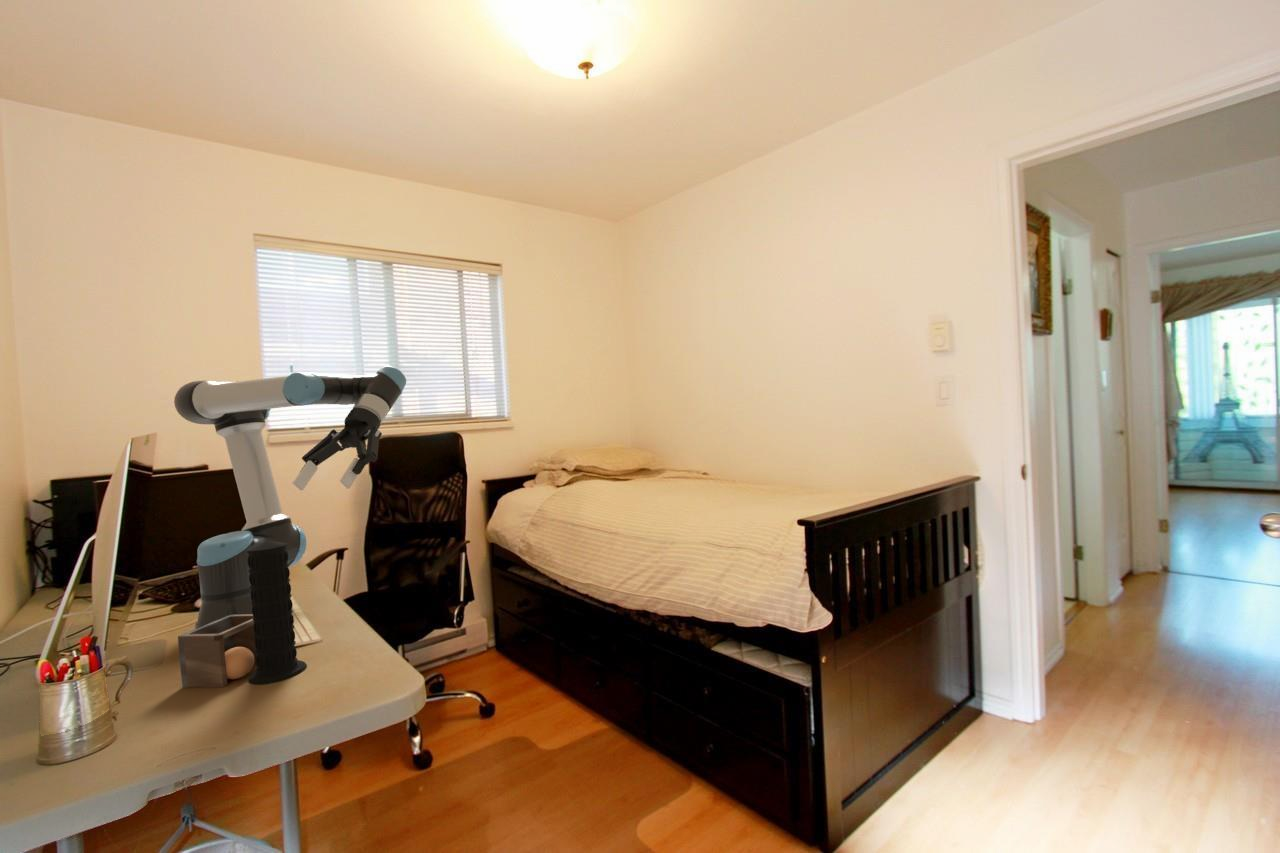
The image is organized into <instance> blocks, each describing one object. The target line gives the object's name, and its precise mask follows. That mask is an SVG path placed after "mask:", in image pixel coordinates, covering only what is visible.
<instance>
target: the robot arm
mask: <svg viewBox="0 0 1280 853" xmlns="http://www.w3.org/2000/svg"><path fill="white" fill-rule="evenodd" d="M406 385H407V379H406V376H405V374H404V373H403V372H402V371H401V370H400V369H398V368H397V367H395V366H391V365H385V366H382V367H380V368H379V369H378V370H377V371H376V373H375V374H366V375H351V374H349V375H347V374H333V373H332V374H331V373H317V372H311V371H299V372H293V373H291V374H289V375H284V376H275V377H267V378H259V379H258V378H257V379H251V380H250V379H249V380H248V379H247V380H242V381H241V380H240V381H238V380H237V381H220V380H219V381H217V380H215V381H214V380H194V381H191V382H188V383H185V384H184V385H182V386H180V388H179V389H178V390H177V392H176V393H175V396H174V398H173V399H174V401H173V402H174V408H175V411H176V412H177V413H178V414H179V416H180V417H182V418H183V419H184V420H186V421H188V422H190V423H193V424H197V425H214V429H215V433H216V435H218V436H219V437H220V436H221V437H222V438H224V440H225V443H226V448H227V451H228V455H229V459H230V464H231V468H232V470H233V476H234V478H235V482H236V485H237V486H236V487H237V490H238V494H239V498H240V501H241V506H242V509H243V513H244V517H245V520H246V523H245V524H244V526H243V527H242V528H241V530H237V531H231V532H227V533H223V534H218V535H216V536H212V537H209V538H208V539H206V540H204V541H202V542H201V543H200V544H199V545H198V547H197V553H196V554H197V556H196V557H197V558H196V564H197V569H198V580H199V588H200V602H201V603H200V607H199V610H198V616H197V620H196V621H197V622H196V623H195V624H194V630H195V629H197V628H199V627H202V626H204V625H207V624H209V623H211V622H214V621H216V620H219V619H221V618H224V617H226V616H228V615H241V614H252V607H253V605H252V604H251V603H252V599H251V589H250V586H251V584H250V581H249V575H250V573H249V572H248V570H249V569H250V568H249V566H248V557H249V555H248V553H247V551H246V550H247V549H249V548H251V547H254V546H257V545H259V544H262V543H264V542H280V543H287V548H286V551H287V553H288V561H287V563H289V565H288V566H287V567H288V568H289V567H293V566H294V565H297V563H299V562H300V561H301V560H302V558H303V556H304V554H305V553H306V549H307V545H308V544H307V542H308V541H307V536H306V533H305V532H304V530H303V529H302V528H300V526H299V525H297V524H293V523H292V522H293V521H292V519H291V516H289V515H287V514H285V513H284V512H283V510H282V506H281V502H280V499H279V498H280V497H279V494H278V491H277V487H276V484H275V483H276V482H275V479H274V476H273V472H272V467H271V464H270V461H269V456H268V453H267V449H266V445H265V441H264V438H263V433H262V431H263V430H264V428H265V427H266V424H267V423H266V420H267V419H268V417H269V416H270V414H271V413H270V411H271V410H272V409H280V408H291V407H296V406H299V407H300V406H301V407H302V406H308V405H309V406H310V405H343V406H344V405H345V406H347V405H353V407H352V409H351V410H350V411H349V413H348V414H347V415H346V417H345V418H344V421H343V422H344V428H343V429H342V430H340V431H337V430H336V429H331V430H330V432H329V433H328V434H327V435H326V436H325V437H324V438H323V439H321V441H320V442H318V443H317V444H316V445H315V446H314V447H313V448H311V449H309V451H307V453H305V454H304V455H303V456H302V457H301V460H302V461H303V462H304V463H305V464H304V465H303V466H302V468H301V469H300V471H299V473H298V475H297V476H296V478H295V479H294V480H293V482H292V484H293V485H294V487H296V488H297V489H298V490H299V491H303V490H304V489H305V488H306V487H307V485H308V484H309V482H310V481H311V479H312V478H313V476H314V475H315V474H316V472H317V470H318V469H319V467H318V466H319V465H321V464H322V463H323V462H325V461H326V460H328V459H329V458H331V457H332V456H334V455H335V454H336V453H338V452H342V451H344V450H345V449H349V448H351V449H356V453H357V455H356V457H354V458H353V460H352V461H351V463H350V464H349V466H348V467H347V469H345V472H344V473H343V475H342V476H341V478H340V480H339V482H340V483H341V484H342V485H343V486H344V487H345V488H346V489H351V487H352V486H353V485H354V483H355V481H356V479H357V478H358V476H359V475H360V474H362V471H363V469H364V468H365V467H366V465H368V464H370V462H372V463H375V462H377V461H378V456H379V447H380V439H381V437H382V432H381V431H380V430H379V428H380V427H381V424H383V422H384V420H385V418H386V417H387V415H388V414H389V412H390V411H391V410H392V408H393V406H394V405H395V403H396V401H397V400H398V398H399V397H400V396H401V395H402V394H403V392H404V389H405V387H406ZM366 441H367V444H366Z"/></svg>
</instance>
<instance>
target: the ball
mask: <svg viewBox="0 0 1280 853" xmlns="http://www.w3.org/2000/svg"><path fill="white" fill-rule="evenodd" d="M225 662H226V673H227V680H237V679H241V678H243V677H244V676H247V674H249V672H250V671H251V670H252V669H253V668H254V667H253V666H254V664H255V663H254V655H253V653H252V652H251V651H250V650H249V649H247V648H245V647H234V648H231V649H229V650H228V651H226V652H225Z"/></svg>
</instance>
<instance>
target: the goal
mask: <svg viewBox="0 0 1280 853" xmlns="http://www.w3.org/2000/svg"><path fill="white" fill-rule="evenodd" d="M253 618H254V617H253V614H241V615H228V616H226V617H224V618H221V619H219V620H216V621H214V622H211V623H209V624H207V625H204V626H202V627H199V628H197V629H195V628H194V629H193V630H190V631H187V632H185V633H183V634H181V635H178V636H177V641H178V642H177V643H178V653H179V654H178V656H179V664H180V675H181V687H182V688H224V687H226V686H228V679H227V673H226V662H225V652H226V651H228V650H229V649H231V648H234V647H245V648H247V649H249V650H250V651H251V652H252V653H253V655H254V664H257V660H256V658H257V655H258V654H256V650H257V649H256V646H255V638H256V637H254V634H255V632H254V626H253V625H254V621H253Z"/></svg>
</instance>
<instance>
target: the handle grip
mask: <svg viewBox="0 0 1280 853" xmlns="http://www.w3.org/2000/svg"><path fill="white" fill-rule="evenodd" d="M286 548H287V543H280V542H264V543H262V544H259V545H257V546H254V547H251V548H249V549H247V550H246V551H247V553H248V555H249V557H248V566H249V568H250V569H249V570H248V572H249V573H250V575H249V581H250V584H251V586H250V589H251V599H252V603H251V604H252V605H253V607H252V614H253V617H254V618H253V621H254V625H253V626H254V632H255V634H254V637H256V638H255V646H256V649H257V650H256V654H258V655H257V658H256V660H257V663H256V665H257V668H256V671H254V672H253V673H251V674H250V676H249V678H248V679H247V681H248V683H250V684H251V685H266V684H267V685H269V684H272V683H278V682H281V681H284V680H286V679H290V678H292V677H295V676H297V675H299V674H300V673H303V672H304V671H305V670H306V668H307V667H308V664H307V663H306V662H305V661H303V660H301V659H300V660H298V658H297V654H298V653H297V651H298V650H297V648H296V644H297V642H296V640H295V639H296V633H295V630H294V629H295V625H294V622H295V619H294V615H293V612H294V610H293V600H292V596H293V595H292V593H291V592H292V586H291V584H290V582H291V578H290V575H291V572H290V569H289V567H287V566H288V565H289V563H287V561H288V553H287V551H286Z"/></svg>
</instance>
